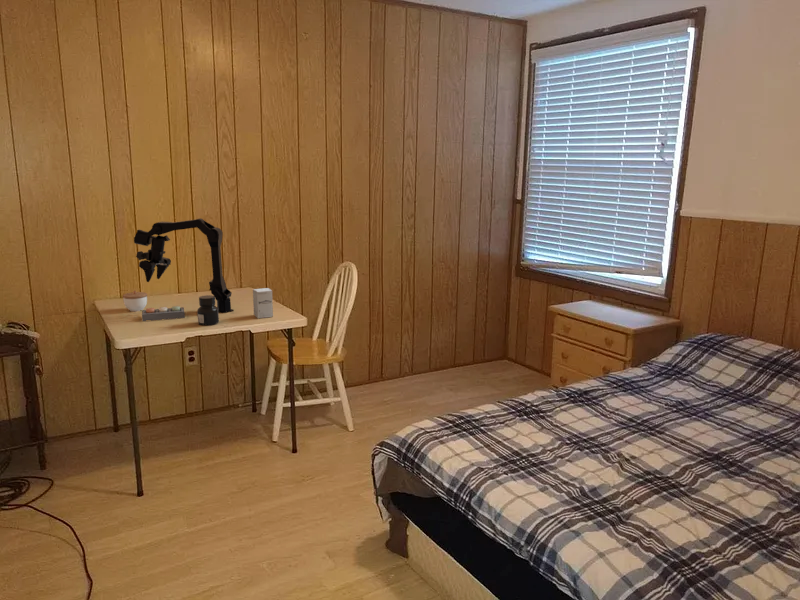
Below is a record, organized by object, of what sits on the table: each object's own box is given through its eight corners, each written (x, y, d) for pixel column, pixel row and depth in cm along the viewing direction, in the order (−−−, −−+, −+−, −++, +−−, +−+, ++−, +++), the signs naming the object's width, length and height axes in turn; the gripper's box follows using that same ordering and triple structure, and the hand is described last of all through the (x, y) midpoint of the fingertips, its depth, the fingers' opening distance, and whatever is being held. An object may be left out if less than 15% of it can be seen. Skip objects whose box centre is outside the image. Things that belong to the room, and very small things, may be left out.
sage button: (180, 310, 285) (179, 305, 284) (180, 311, 281) (180, 307, 281) (171, 310, 283) (171, 306, 283) (172, 312, 280) (171, 308, 280)
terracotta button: (154, 311, 281) (154, 307, 280) (154, 313, 278) (154, 309, 277) (146, 312, 280) (146, 308, 279) (146, 314, 276) (145, 310, 276)
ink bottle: (199, 321, 274) (197, 295, 272) (219, 320, 276) (218, 294, 274) (197, 326, 265) (195, 299, 263) (218, 325, 267) (216, 298, 265)
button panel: (184, 313, 288) (183, 307, 288) (184, 317, 280) (184, 311, 279) (143, 316, 282) (142, 310, 281) (142, 321, 274) (141, 314, 273)
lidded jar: (133, 306, 301) (131, 288, 299) (152, 308, 298) (151, 289, 296) (119, 312, 290) (117, 292, 288) (139, 313, 288) (137, 293, 286)
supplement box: (257, 318, 279) (256, 291, 276) (253, 315, 286) (252, 288, 283) (273, 317, 282) (272, 290, 280) (269, 313, 289) (268, 287, 286)
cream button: (167, 310, 283) (167, 306, 282) (167, 312, 279) (167, 308, 279) (159, 311, 281) (158, 307, 281) (159, 313, 278) (158, 309, 278)
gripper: (151, 242, 296) (147, 273, 299) (130, 246, 278) (126, 279, 281) (173, 247, 295) (168, 278, 298) (153, 252, 277) (148, 285, 280)
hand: (153, 280), depth 289 cm, fingers open, 9 cm apart
